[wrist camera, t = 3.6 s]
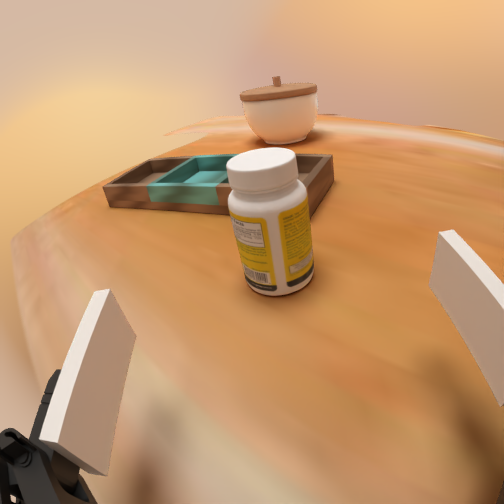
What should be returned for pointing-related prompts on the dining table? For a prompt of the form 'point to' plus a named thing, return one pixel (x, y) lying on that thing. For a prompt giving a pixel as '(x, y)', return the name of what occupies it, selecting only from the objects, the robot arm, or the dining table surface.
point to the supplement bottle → (271, 220)
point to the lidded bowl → (281, 111)
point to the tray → (203, 183)
